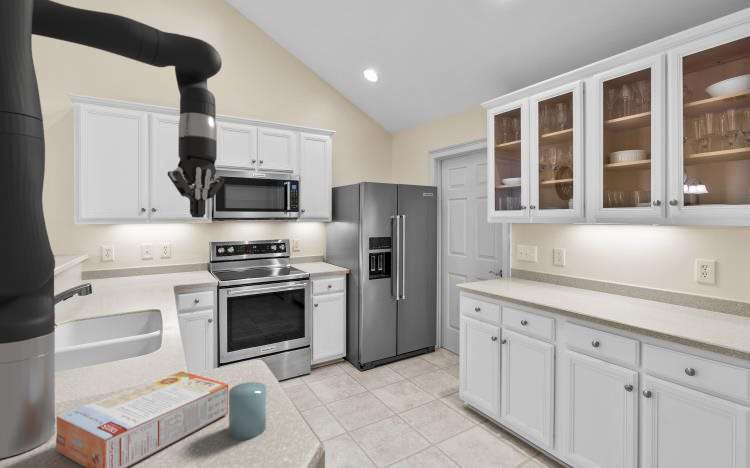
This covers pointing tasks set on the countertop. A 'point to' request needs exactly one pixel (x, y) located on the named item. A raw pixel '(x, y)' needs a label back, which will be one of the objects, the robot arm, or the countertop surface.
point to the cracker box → (140, 420)
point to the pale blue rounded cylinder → (247, 410)
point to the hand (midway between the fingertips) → (197, 217)
